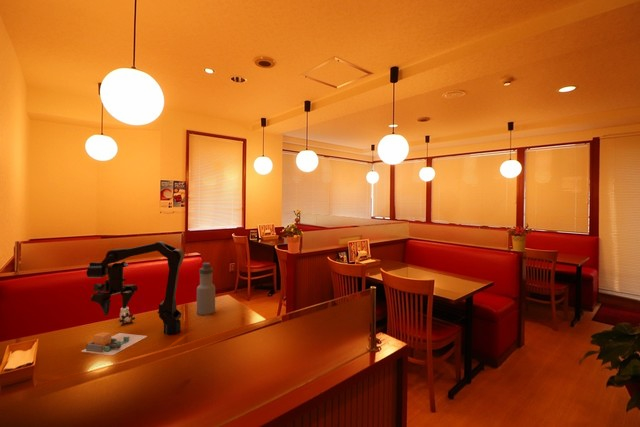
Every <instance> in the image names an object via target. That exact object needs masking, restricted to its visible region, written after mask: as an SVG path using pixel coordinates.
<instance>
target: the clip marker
mask: <svg viewBox="0 0 640 427" xmlns="http://www.w3.org/2000/svg"><path fill="white" fill-rule="evenodd" d="M128 341H129V337H124V341H122V342H121V341H115V342H119V345H122V344H124V343H126V342H128Z"/></svg>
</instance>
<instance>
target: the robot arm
mask: <svg viewBox="0 0 640 427" xmlns="http://www.w3.org/2000/svg"><path fill="white" fill-rule="evenodd" d="M153 252H158V253H159V254H161V256H163V257H165V259H167V266H168V274H167V282H166V287H165V296H164V300H162V301H161V302H160V303H159V304H158V311H157V314H158V317H159V319H160V320H161V321H162V323H163V334H165V335H166V336H173V335H178V334H179V333H181V327H182V326H181V325H182V324H181V323H182V322H181V320H180V319H181V317H182V312H181V311H180V310H178V308H177V301H176V295H177V286H178V280H179V273H180V268H181V266H182V263H183V261H184V259H185V252H184V250H183V249H181V248H176V247H174V246H172V245H170V244H167V243H166V242H164V241H157V242H154V243H153V242H152V243H150V244H149V243H148V244H144V245H140V246H135V247H118V248H114V249H110V250H108V251H107V252H106V253H105V258H104V259H103V260H102V261H100V262H99V261H92V262H89V266H88V267H87V270H86V276H87V278H90V279H92V278H93V279H94V278H95V279H96V278H97V279H99V278H105V277H107V279H105V281H104V283H96V284H93V288H92V289H93V292H97V293H93V294H92V295H91V296H90V301H91V302H94V303H97V304H98V305H99V306H100V308H101V309H102V312H103V314H104V316H109V312H110V307H111V303H112V300H111V298H112V297H113V296H116V295H119V294H120V295H121V296H122V297H121V299H122V301H121V302H122V308H126V307H128V305H129V303H130V301H131V300H132V297H133V296H134V294H135V293H136V292H137V291H138V286H137V285H136V284H132V283H131V284H129V283H127V284H124V282H125V281H126V278H125V277H124V268H126V267H129V266H130V264H128V263H127V262H126V259H128V258H130V257H135V256H140V255H144V254H148V253H153ZM124 260H125V261H124Z"/></svg>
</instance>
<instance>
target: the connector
mask: <svg viewBox="0 0 640 427" xmlns="http://www.w3.org/2000/svg"><path fill="white" fill-rule="evenodd" d="M111 337H112V332H106V331H105V332H104V331H101V332H99V333H96V334H94V335H93V341H94V344H96V345H103V350H104V347H105V346H110V348H118V349H120V348H121V345H117V344H111Z"/></svg>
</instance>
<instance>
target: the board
mask: <svg viewBox="0 0 640 427" xmlns="http://www.w3.org/2000/svg"><path fill="white" fill-rule="evenodd" d="M124 337H129V341H128V342H126V343H124V344H122V345H121V348H120V349H118V348H115V349H113V350H111V351H109V352H105V351H104V350H103V352H94V351H86V348H85V349H82V350H80V352H82V353H88V354H90V353H91V354H97V355H98V354H99V355H105V356H114V355H116V354H117V353H120V352H121V351H123V350H125V349H127V348H128V347H129V348H130V347H131V346H132V345H135V344H136V343H138V342H139V341H141V340H143V339H145V338H147V337H148V336H147V335H142V334H141V335H140V334H131V333H123V332H122V333H121V332H119V333H116V334H115V335H111V338H115V339H116V341H121V342H122V341H124Z"/></svg>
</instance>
